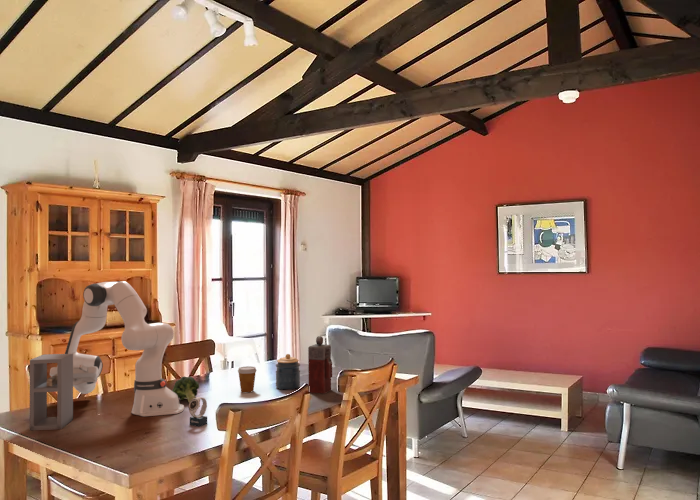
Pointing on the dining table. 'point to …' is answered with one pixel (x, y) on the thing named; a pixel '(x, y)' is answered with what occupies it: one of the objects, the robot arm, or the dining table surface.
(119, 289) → the robot arm
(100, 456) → the dining table surface
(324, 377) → the red square decanter
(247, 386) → the disposable coffee cup
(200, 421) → the watch
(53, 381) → the slat
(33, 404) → the shelf stand
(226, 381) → the dining table surface
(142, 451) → the dining table surface
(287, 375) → the canister
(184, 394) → the vegetable
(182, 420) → the dining table surface
